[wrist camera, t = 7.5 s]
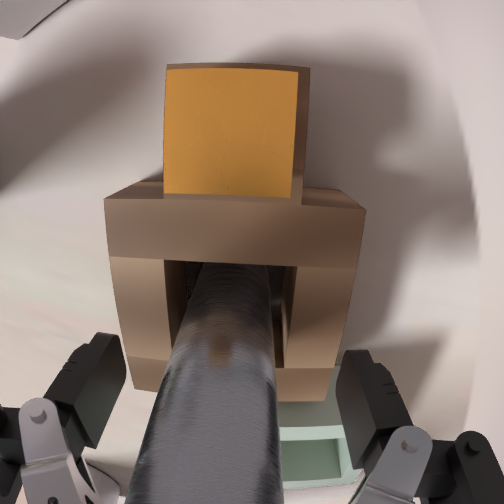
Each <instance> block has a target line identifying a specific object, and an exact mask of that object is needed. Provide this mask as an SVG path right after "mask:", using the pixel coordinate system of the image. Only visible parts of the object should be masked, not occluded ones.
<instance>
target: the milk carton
mask: <svg viewBox="0 0 504 504" xmlns="http://www.w3.org/2000/svg"><path fill="white" fill-rule="evenodd" d="M66 1H67V0H0V36H1V37H5V38H10V39H14V40H19V39H20V38H21V37H22V36H24V35H25V34H26V33H27V32H28V31H29V30H30V29H32V28H33V27H34V26H35V25H36V24H37V23H39V22H40V21H41V20H42V19H44V18H45V17H46V16H47V15H49V14H50V13H51V12H52V11H54V10H55V9H56V8H58V7H59V6H60V5H62V4H63V3H64V2H66Z"/></svg>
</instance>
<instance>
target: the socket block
mask: <svg viewBox="0 0 504 504" xmlns="http://www.w3.org/2000/svg"><path fill="white" fill-rule="evenodd" d="M196 68H242V69H265V70H280V71H292V72H298V87H297V106H296V123H295V139H294V154H293V169H292V182H291V195H290V198H278V197H261V196H240V195H215V194H177V193H164V139H163V182H137V183H134V184H132V185H130V186H128V187H126V188H124V189H122V190H120V191H118V192H116V193H114V194H112V195H110V196H108V197H106V198H104V210H105V222H106V233H107V243H108V252H109V260H110V268H111V275H112V282H113V288H114V295H115V301H116V307H117V312H118V318H119V323H120V328H121V333H122V338H123V343H124V347H125V352H126V356H127V361H128V365H129V369H130V373H131V377H132V381H133V385H134V389H138V390H145V391H151V392H158V391H159V388H160V385H161V382H162V379H163V376H164V373H165V370H166V367H167V364H168V361H169V358H170V355H171V352H172V349H173V346H174V343H175V340H176V337H177V335H178V332H179V329H180V326H181V323H182V320H183V318H184V315H185V312H186V309H187V291H186V267H185V261H198V262H217V263H236V264H257V265H278V266H285V270H284V280H283V290H282V299H281V309H280V318H279V321H272V328H273V342H274V355H275V369H276V383H277V398H278V401H325V398H326V394H327V391H328V387H329V384H330V380H331V377H332V373H333V369H334V366H335V362H336V358H337V354H338V350H339V346H340V342H341V338H342V334H343V330H344V326H345V321H346V317H347V313H348V308H349V303H350V299H351V294H352V289H353V284H354V279H355V274H356V269H357V263H358V258H359V252H360V246H361V240H362V234H363V228H364V221H365V214H366V210H365V209H364V208H363V207H361V206H360V205H359V204H357V203H356V202H355V201H353V200H352V199H351V198H350V197H348V196H347V195H346V194H344V193H343V192H341V191H340V190H331V189H319V188H307V187H303V178H304V165H305V152H306V137H307V122H308V105H309V85H310V68H307V67H297V66H286V65H274V64H256V63H184V64H167V69H166V77H167V70H173V69H196ZM165 94H166V85H165ZM164 119H165V106H164Z"/></svg>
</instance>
